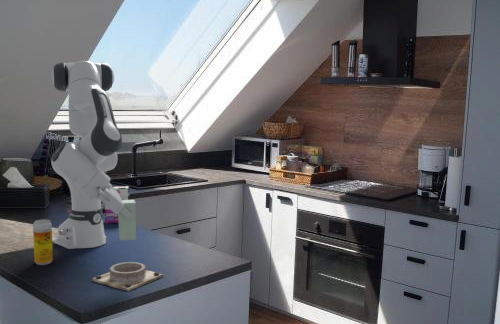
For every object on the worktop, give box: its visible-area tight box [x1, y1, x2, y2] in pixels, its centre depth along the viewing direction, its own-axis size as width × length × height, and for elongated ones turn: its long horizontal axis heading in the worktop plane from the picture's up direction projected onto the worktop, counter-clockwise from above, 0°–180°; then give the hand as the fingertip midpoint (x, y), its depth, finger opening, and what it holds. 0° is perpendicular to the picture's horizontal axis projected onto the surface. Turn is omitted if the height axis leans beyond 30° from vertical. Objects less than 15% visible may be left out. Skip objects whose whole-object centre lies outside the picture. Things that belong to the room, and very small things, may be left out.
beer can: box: [32, 218, 54, 266], centre depth 191 cm, size 6×6×15 cm
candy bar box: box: [104, 185, 130, 224], centre depth 250 cm, size 11×5×16 cm, turn 104°
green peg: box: [118, 199, 137, 242], centre depth 174 cm, size 5×5×12 cm
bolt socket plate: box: [91, 261, 164, 292], centre depth 177 cm, size 16×16×4 cm
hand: (129, 213), depth 174 cm, fingers closed on green peg, 5 cm apart
